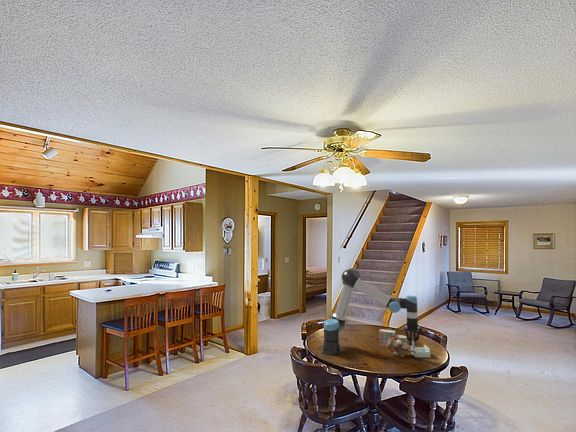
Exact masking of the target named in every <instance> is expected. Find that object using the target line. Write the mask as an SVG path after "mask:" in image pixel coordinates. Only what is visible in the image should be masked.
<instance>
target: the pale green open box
mask: <svg viewBox="0 0 576 432" xmlns="http://www.w3.org/2000/svg"><path fill="white" fill-rule="evenodd" d="M415 352H416V353H412V352H410V354H411V355H412V356H413V357H415V358H419V359H420V358H423V359H424V358H429V359H430V358H431V348H429V347H428V346H427V345H426V344H423V347H418V346H417V347H416V346H415Z"/></svg>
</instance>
